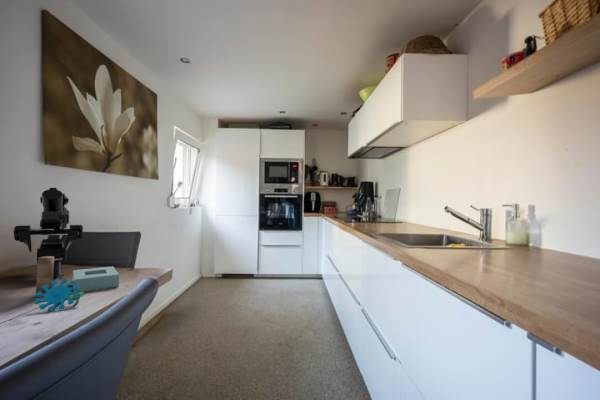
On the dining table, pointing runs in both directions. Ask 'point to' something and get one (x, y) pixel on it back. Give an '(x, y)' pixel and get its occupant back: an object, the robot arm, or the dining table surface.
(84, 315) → the dining table surface
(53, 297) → the gear
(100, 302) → the dining table surface
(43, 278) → the peg
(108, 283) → the housing
